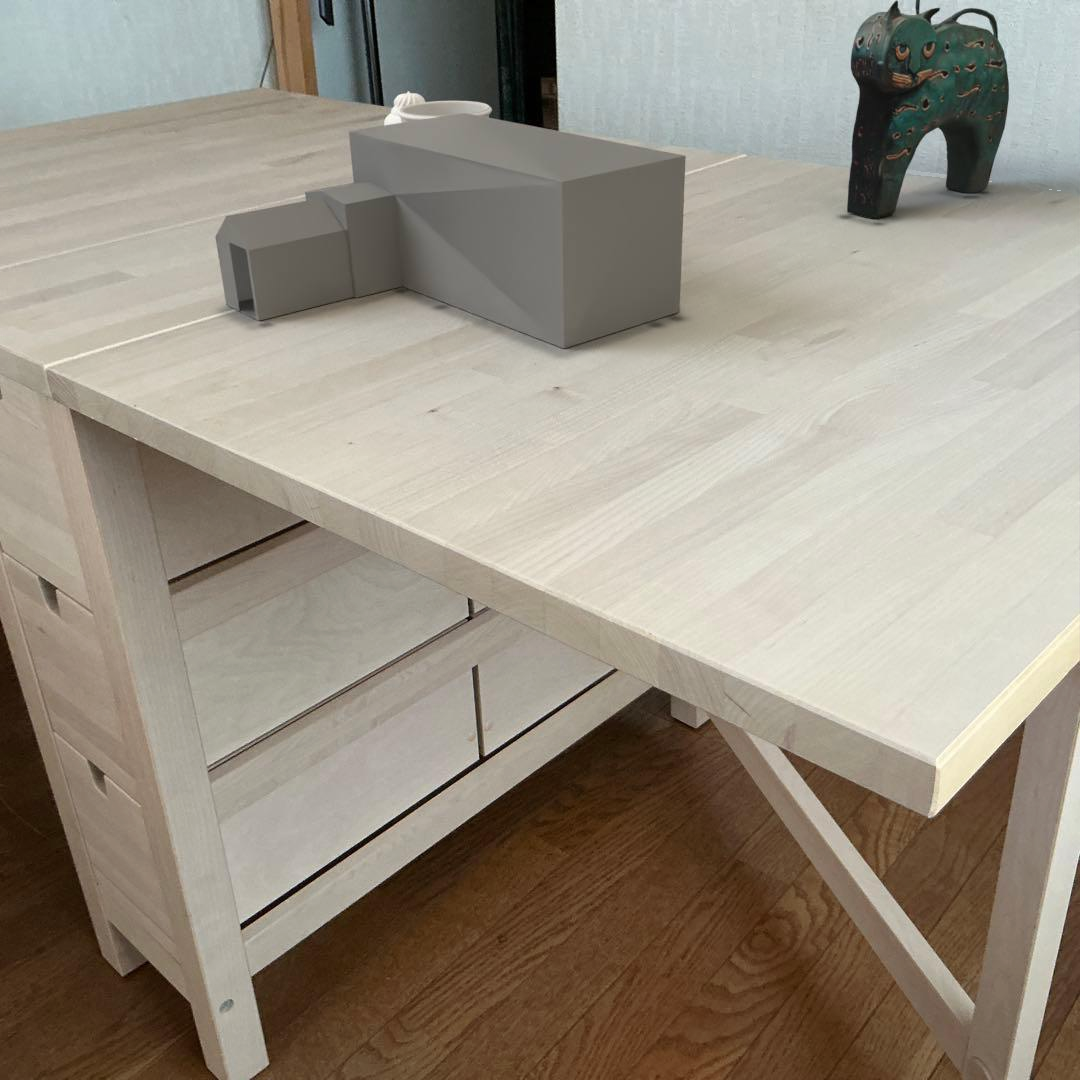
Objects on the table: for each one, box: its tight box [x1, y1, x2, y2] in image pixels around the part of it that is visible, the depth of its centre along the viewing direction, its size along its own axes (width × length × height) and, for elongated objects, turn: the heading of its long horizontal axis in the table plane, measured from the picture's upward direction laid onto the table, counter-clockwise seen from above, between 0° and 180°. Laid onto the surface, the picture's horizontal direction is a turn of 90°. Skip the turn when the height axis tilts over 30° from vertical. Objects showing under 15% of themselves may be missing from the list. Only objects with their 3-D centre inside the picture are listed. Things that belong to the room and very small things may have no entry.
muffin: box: [383, 90, 426, 126], centre depth 133 cm, size 6×6×7 cm
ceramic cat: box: [846, 0, 1010, 220], centre depth 105 cm, size 20×6×20 cm, turn 126°
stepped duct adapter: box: [215, 113, 686, 349], centre depth 83 cm, size 25×23×11 cm
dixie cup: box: [398, 100, 493, 123], centre depth 105 cm, size 8×8×10 cm
